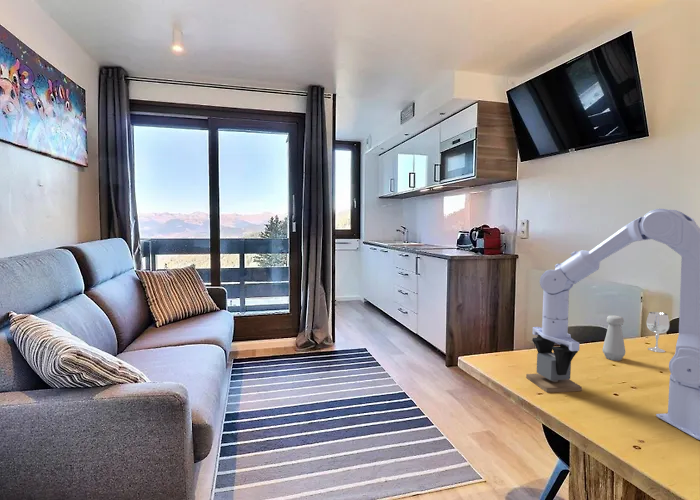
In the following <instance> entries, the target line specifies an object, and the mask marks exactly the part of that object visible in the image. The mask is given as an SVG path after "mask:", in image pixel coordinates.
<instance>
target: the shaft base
mask: <svg viewBox="0 0 700 500" xmlns="http://www.w3.org/2000/svg"><path fill="white" fill-rule="evenodd" d="M525 378H526V379H527V380H528V381H530V382H532V384H534V385H536V386H537V387H538V388H540V389H541V390H543V391H544V392H546V393H561V392H564V393H565V392H580V391H582V389H583V387H582V386H581V385H580V384H578V383H577V382H574V381H573V380H571V378H570V379H565V380H552V381H551V380H549V379H547V378H545V377H544V376H542V375H540V374H539V373H526V374H525Z"/></svg>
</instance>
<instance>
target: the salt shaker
mask: <svg viewBox="0 0 700 500" xmlns="http://www.w3.org/2000/svg"><path fill="white" fill-rule="evenodd" d="M624 322H625V320H624V318H623V317H622V316H619V315H614V314H613V315H607V317H606V324H608V327H607V329H606V335H605V338H604V341H603V347H602V353H603V354H604V356H605V359H608V360H611V361H615V362H616V361H617V362H620V361H622V359H623V358H624V356H626V346H625V340H624V334H623V329H622V325H624Z"/></svg>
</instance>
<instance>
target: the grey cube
mask: <svg viewBox="0 0 700 500" xmlns="http://www.w3.org/2000/svg"><path fill="white" fill-rule="evenodd" d="M571 369H572V362H571V363H570V365H569V368H568V370H567V373H566V375H558V374H557V371H556V359H555V355H554V352H553V351H552V353H538V352H537V354H536V374H540V375H542V376H544V377H545V378H547V379H549V380H551V381H552V380H565V379H570V380H571V373H572V372H571Z"/></svg>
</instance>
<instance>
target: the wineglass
mask: <svg viewBox="0 0 700 500" xmlns="http://www.w3.org/2000/svg"><path fill="white" fill-rule="evenodd" d="M646 327H647V329H648V330H649V331H651V332H652V333H655V335H654V337H655V346H654V347H648V348H647V350H648V351H651V352H656V353H666V349H665V350H664V349H662V348H660V347H659V346H658V345H659V344H658V343H659V339H660V334H664V333H666V332H668V331H669V330H670V319H669V314H668V313H665V312H660V311H649V313H648V314H647V318H646Z"/></svg>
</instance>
